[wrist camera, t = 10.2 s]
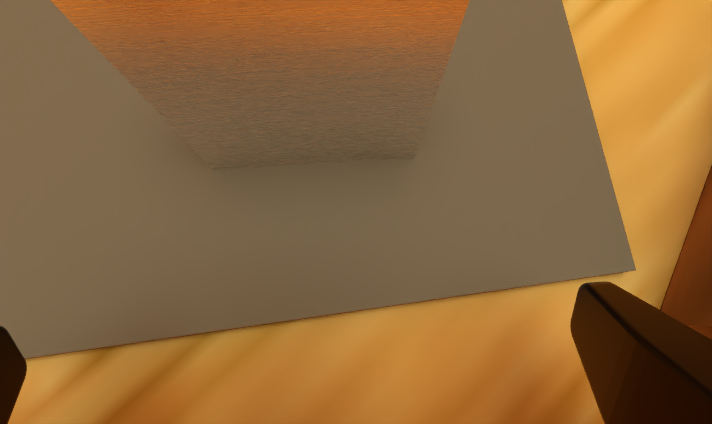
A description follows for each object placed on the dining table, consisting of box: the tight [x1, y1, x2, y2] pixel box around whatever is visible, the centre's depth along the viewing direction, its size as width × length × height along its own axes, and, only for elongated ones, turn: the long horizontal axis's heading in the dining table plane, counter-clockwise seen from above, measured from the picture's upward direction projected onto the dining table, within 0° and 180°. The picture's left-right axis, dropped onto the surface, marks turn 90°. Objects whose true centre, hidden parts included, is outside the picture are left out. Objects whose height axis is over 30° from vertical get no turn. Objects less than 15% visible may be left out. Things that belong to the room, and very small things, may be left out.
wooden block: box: [51, 0, 470, 170], centre depth 10 cm, size 2×6×9 cm, turn 94°
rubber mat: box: [0, 0, 636, 359], centre depth 15 cm, size 18×18×1 cm
